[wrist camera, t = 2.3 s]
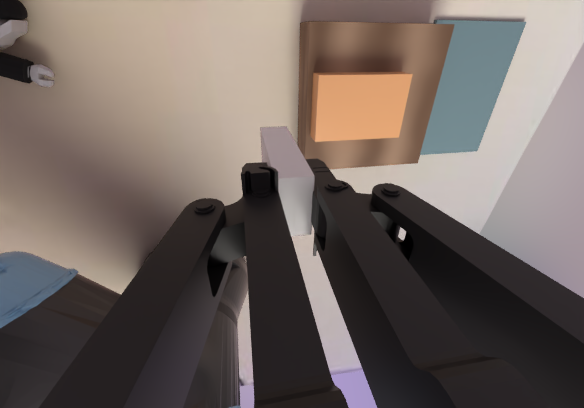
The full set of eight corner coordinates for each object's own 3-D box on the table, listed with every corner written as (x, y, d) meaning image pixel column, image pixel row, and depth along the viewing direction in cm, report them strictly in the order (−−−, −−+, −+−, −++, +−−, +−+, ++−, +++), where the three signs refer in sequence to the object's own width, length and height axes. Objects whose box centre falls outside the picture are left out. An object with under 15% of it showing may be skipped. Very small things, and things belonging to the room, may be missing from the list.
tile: (310, 135, 29) (315, 141, 27) (313, 72, 26) (318, 75, 24) (389, 131, 30) (398, 137, 28) (401, 71, 27) (412, 74, 25)
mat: (403, 154, 37) (404, 155, 36) (434, 20, 29) (437, 19, 28) (475, 150, 38) (477, 151, 38) (523, 22, 31) (526, 21, 30)
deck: (297, 157, 34) (304, 170, 31) (300, 23, 27) (309, 21, 23) (400, 151, 36) (417, 163, 33) (429, 25, 29) (454, 24, 26)
